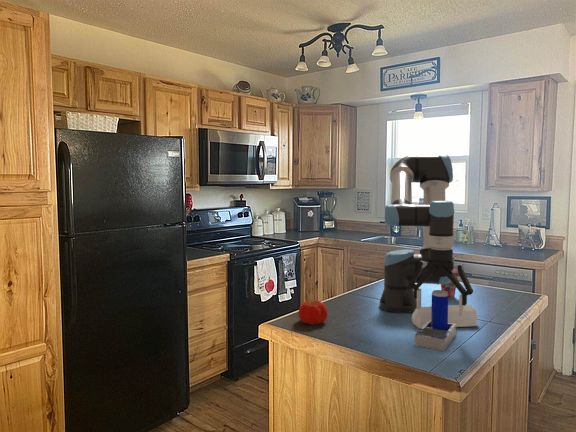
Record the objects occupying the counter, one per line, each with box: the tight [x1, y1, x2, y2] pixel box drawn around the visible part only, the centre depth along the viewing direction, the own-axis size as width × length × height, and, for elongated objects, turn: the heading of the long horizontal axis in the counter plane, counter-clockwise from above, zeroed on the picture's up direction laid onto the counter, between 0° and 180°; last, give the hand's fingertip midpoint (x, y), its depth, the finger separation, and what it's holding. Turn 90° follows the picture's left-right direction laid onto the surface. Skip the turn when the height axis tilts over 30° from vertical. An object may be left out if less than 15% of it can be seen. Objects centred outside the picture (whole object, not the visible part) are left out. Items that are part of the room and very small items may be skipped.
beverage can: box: [431, 289, 449, 331], centre depth 147 cm, size 5×5×15 cm
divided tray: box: [414, 320, 457, 352], centre depth 144 cm, size 9×17×4 cm, turn 148°
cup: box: [440, 268, 459, 299], centre depth 196 cm, size 9×8×12 cm
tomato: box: [298, 300, 329, 326], centre depth 163 cm, size 11×11×8 cm
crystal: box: [411, 304, 479, 329], centre depth 158 cm, size 7×7×24 cm
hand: (439, 311), depth 147 cm, fingers open, 13 cm apart
